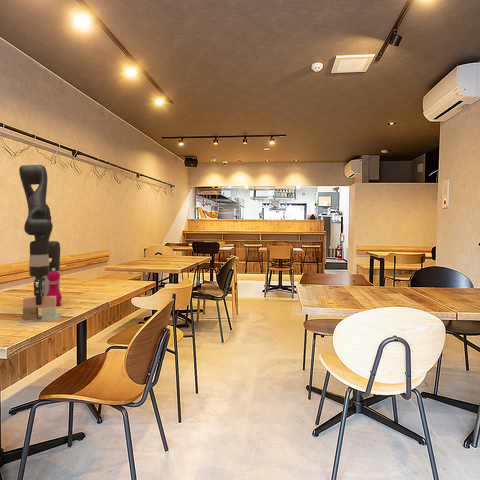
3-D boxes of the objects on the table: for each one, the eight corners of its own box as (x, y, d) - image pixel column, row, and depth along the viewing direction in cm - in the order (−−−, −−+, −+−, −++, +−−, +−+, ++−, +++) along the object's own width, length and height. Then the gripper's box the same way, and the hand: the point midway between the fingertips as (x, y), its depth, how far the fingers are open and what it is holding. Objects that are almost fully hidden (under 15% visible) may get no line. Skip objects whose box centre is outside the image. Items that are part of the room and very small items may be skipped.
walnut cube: (25, 317, 149) (25, 306, 148) (38, 316, 151) (38, 305, 150) (23, 320, 144) (22, 309, 144) (36, 319, 146) (36, 308, 146)
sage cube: (43, 316, 151) (43, 305, 151) (56, 315, 153) (56, 304, 153) (41, 319, 147) (41, 307, 147) (54, 317, 149) (54, 306, 148)
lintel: (56, 304, 153) (56, 295, 152) (54, 306, 149) (54, 297, 149) (25, 306, 148) (25, 297, 148) (23, 308, 145) (23, 299, 144)
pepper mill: (50, 305, 177) (49, 267, 176) (64, 305, 178) (63, 267, 177) (43, 308, 170) (42, 269, 169) (58, 308, 170) (57, 269, 169)
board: (24, 318, 152) (24, 315, 152) (62, 315, 157) (62, 312, 157) (18, 326, 140) (18, 323, 140) (59, 322, 146) (59, 319, 146)
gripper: (32, 263, 153) (33, 300, 154) (26, 267, 140) (26, 307, 140) (51, 262, 156) (51, 299, 156) (46, 266, 142) (47, 306, 143)
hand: (39, 303), depth 148 cm, fingers open, 5 cm apart
